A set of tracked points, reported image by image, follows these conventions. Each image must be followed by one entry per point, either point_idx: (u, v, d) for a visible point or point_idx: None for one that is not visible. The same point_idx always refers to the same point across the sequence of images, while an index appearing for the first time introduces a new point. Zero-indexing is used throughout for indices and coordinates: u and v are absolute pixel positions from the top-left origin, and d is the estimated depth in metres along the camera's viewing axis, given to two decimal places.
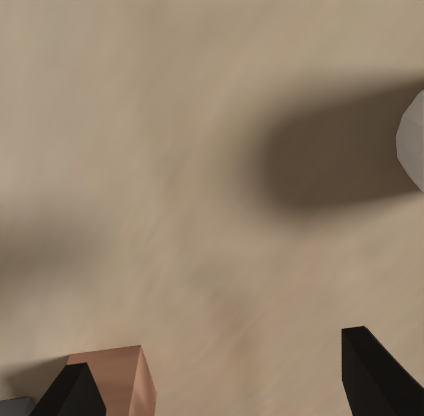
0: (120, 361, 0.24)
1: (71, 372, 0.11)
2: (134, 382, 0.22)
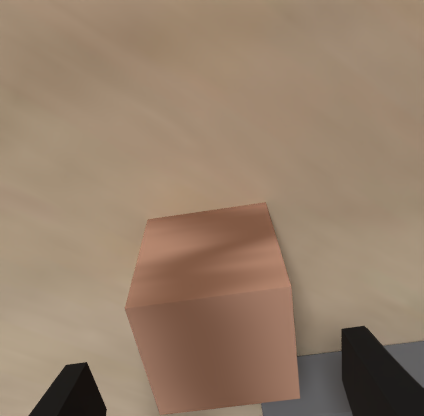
0: None
1: (71, 372, 0.11)
2: (141, 258, 0.13)
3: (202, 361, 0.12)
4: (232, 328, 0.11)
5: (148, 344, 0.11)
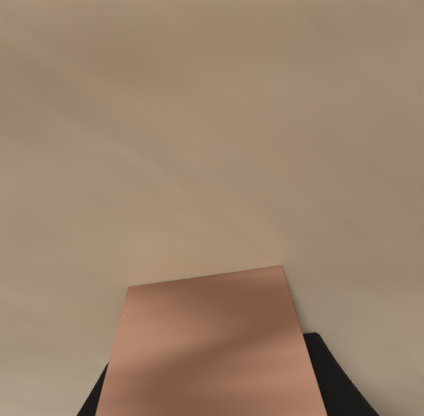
0: None
1: None
2: (114, 359, 0.09)
3: None
4: None
5: None
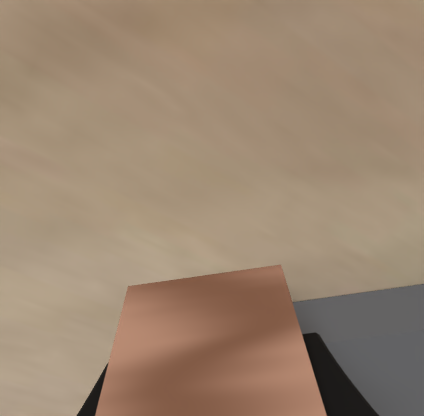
0: None
1: None
2: (114, 358, 0.09)
3: None
4: None
5: None
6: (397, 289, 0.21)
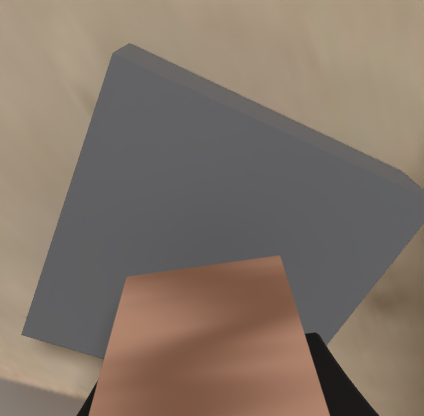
0: None
1: None
2: (112, 346, 0.09)
3: None
4: None
5: None
6: (326, 136, 0.16)
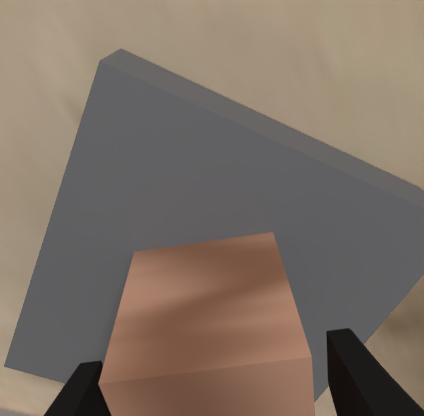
0: None
1: (86, 370, 0.11)
2: (122, 308, 0.10)
3: None
4: (236, 404, 0.09)
5: None
6: (337, 150, 0.14)
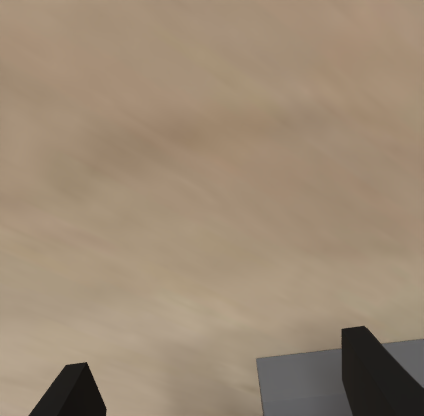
0: None
1: (71, 372, 0.11)
2: None
3: None
4: None
5: None
6: (393, 344, 0.24)
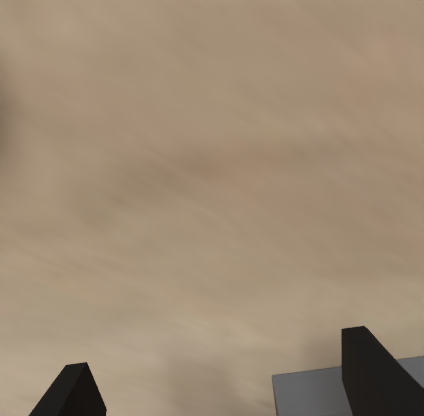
0: None
1: (71, 372, 0.11)
2: None
3: None
4: None
5: None
6: (405, 360, 0.25)
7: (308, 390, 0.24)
